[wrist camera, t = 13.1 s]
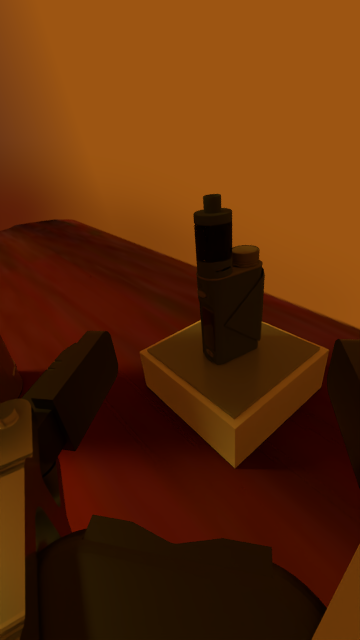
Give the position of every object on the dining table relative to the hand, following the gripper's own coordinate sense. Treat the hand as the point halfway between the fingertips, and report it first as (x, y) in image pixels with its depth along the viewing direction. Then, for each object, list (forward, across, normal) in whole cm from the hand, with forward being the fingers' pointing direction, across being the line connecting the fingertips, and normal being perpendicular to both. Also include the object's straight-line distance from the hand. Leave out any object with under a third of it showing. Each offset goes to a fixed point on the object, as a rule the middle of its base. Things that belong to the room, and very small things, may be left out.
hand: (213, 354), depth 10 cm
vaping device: (+11, 0, +8) cm, 14 cm away
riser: (+11, 0, +12) cm, 16 cm away
